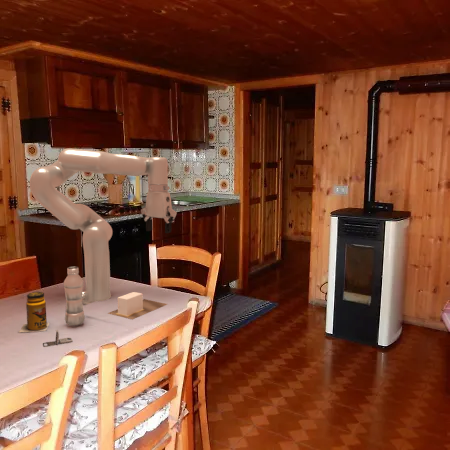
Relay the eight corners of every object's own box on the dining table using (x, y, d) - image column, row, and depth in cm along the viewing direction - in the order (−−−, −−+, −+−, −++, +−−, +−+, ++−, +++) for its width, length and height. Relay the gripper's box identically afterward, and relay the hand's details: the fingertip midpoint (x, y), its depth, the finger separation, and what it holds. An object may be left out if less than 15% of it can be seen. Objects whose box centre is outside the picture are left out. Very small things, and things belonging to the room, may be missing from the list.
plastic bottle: (66, 329, 147) (64, 271, 144) (63, 323, 152) (61, 266, 150) (86, 326, 150) (84, 269, 147) (83, 320, 155) (81, 265, 153)
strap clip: (71, 339, 139) (71, 326, 138) (72, 343, 136) (72, 330, 136) (42, 344, 135) (42, 331, 135) (43, 348, 132) (42, 334, 132)
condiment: (46, 331, 145) (44, 296, 144) (18, 333, 143) (16, 297, 142) (49, 323, 152) (48, 289, 151) (23, 325, 150) (21, 291, 149)
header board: (132, 323, 153) (132, 312, 152) (107, 317, 159) (107, 306, 158) (168, 307, 170) (168, 297, 169) (144, 302, 176) (144, 292, 175)
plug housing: (127, 316, 155) (126, 299, 154) (117, 313, 157) (117, 297, 157) (142, 309, 162) (142, 293, 162) (133, 307, 165) (133, 291, 164)
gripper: (181, 189, 171) (181, 232, 174) (147, 187, 180) (148, 228, 182) (169, 190, 165) (170, 235, 167) (134, 188, 174) (135, 231, 176)
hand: (158, 231), depth 175 cm, fingers open, 9 cm apart
